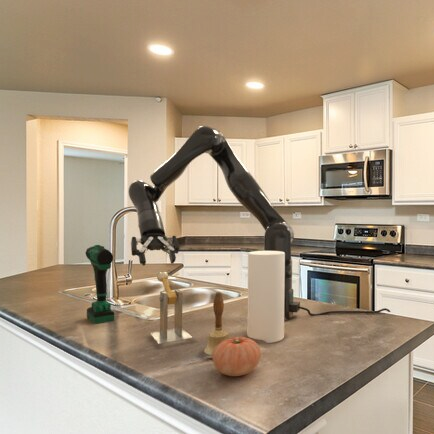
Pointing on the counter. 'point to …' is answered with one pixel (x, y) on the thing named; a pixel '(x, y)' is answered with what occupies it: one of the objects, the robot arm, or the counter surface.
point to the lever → (167, 287)
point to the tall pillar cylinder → (266, 295)
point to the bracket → (165, 334)
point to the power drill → (100, 284)
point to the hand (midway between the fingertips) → (158, 263)
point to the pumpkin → (236, 356)
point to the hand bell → (216, 326)
